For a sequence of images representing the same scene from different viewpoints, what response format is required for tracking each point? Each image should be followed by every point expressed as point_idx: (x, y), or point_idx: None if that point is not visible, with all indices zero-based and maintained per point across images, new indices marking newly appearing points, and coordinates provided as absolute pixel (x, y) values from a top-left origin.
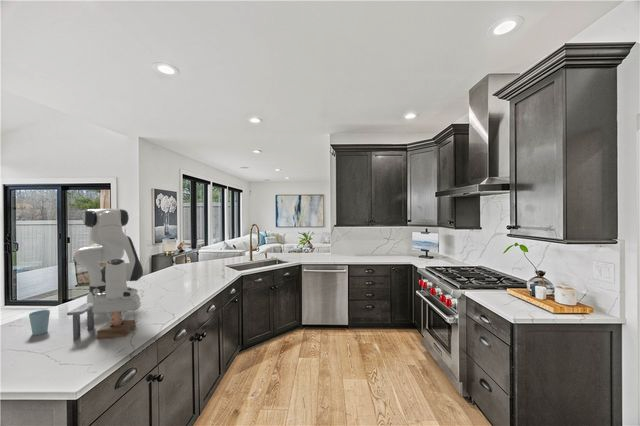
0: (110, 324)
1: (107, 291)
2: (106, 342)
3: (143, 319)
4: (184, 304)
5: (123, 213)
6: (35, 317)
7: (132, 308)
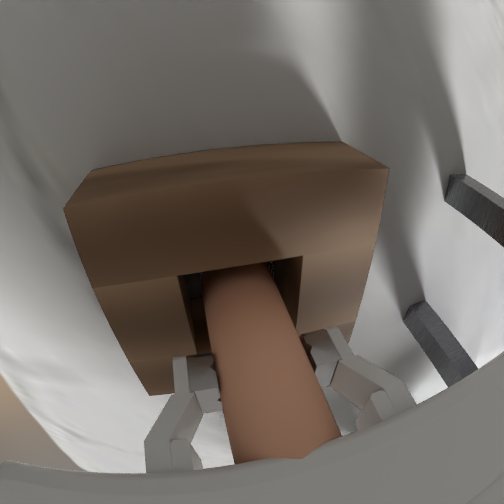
0: (318, 317)
1: None
2: (213, 41)
3: None
4: None
5: None
6: None
7: (31, 494)
